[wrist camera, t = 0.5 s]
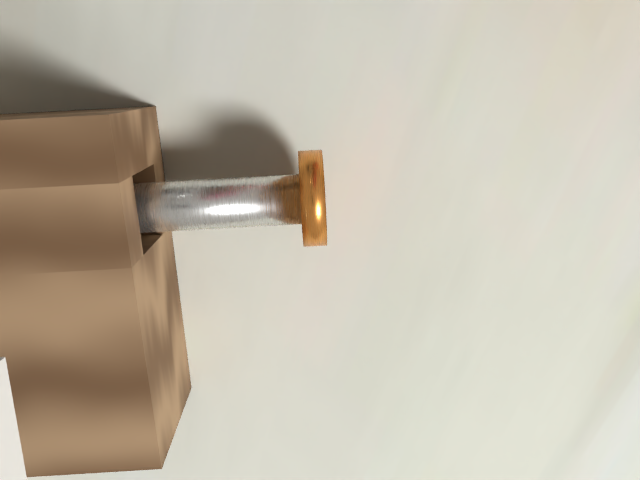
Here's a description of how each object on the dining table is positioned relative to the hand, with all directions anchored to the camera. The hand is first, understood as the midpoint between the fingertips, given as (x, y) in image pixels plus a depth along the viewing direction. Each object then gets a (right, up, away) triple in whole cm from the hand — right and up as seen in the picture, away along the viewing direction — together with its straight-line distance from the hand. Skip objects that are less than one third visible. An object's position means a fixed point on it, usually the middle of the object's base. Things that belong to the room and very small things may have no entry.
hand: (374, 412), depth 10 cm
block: (-15, +2, +24) cm, 28 cm away
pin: (-8, +6, +22) cm, 24 cm away
